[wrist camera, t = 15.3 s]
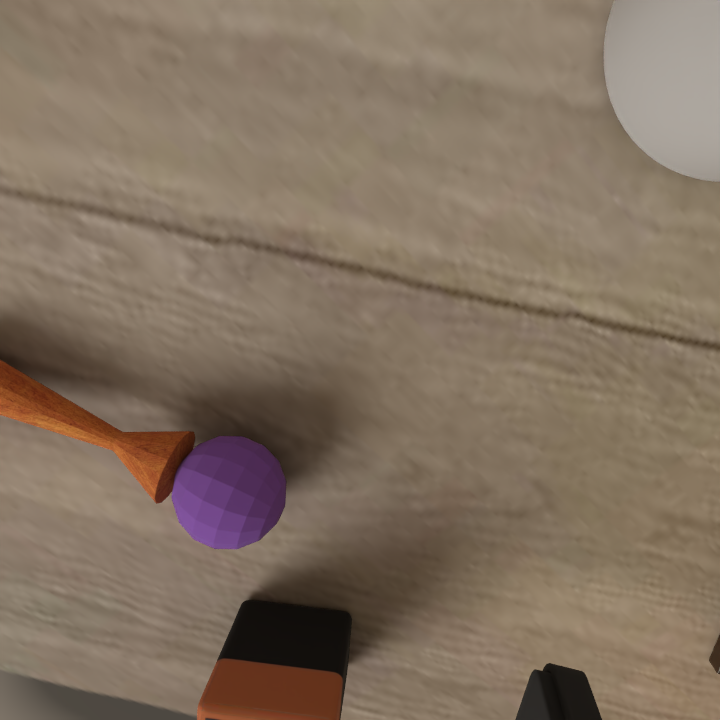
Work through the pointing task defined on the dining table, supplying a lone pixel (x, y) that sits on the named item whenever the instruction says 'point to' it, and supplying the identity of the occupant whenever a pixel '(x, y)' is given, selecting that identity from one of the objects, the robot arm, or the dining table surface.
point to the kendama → (170, 465)
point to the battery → (280, 665)
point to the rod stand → (716, 656)
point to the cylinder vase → (667, 80)
